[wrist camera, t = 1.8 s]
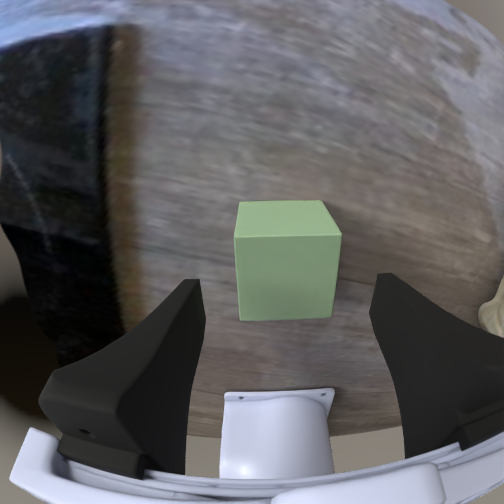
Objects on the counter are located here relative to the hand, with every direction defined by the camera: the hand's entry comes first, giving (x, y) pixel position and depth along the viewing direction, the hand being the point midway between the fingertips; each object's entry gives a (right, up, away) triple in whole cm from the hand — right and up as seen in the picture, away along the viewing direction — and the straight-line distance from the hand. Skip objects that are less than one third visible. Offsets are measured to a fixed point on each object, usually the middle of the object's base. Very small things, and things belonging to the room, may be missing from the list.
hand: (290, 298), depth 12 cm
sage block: (0, +3, +5) cm, 6 cm away
